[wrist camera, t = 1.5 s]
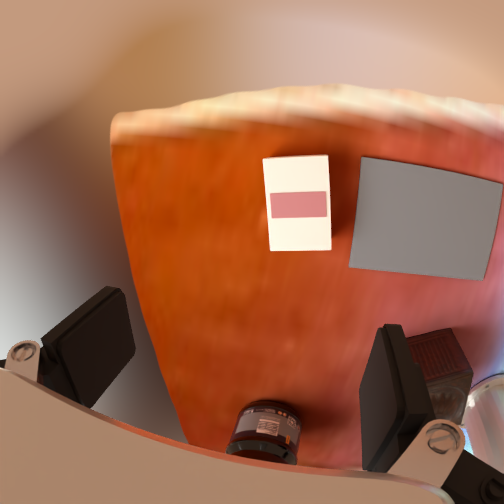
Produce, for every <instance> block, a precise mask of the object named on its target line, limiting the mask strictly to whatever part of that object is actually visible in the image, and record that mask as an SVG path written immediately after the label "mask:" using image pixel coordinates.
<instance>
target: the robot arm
mask: <svg viewBox="0 0 504 504" xmlns="http://www.w3.org/2000/svg"><path fill="white" fill-rule="evenodd" d="M41 341H42V343H43V347H42V348H40V346H39V344H38V343H37V342H35V341H31V340H30V341H28V340H27V341H22V342H19V343H17V344H15V345H14V346H13V347H12V348H11V349H10V350H9V352H8V355H7V359H4V360H0V504H504V374H503V375H496V376H492V377H490V378H488V379H486V380H484V381H482V382H480V383H479V384H477V385H476V386H474V387H473V388H472V389H471V390H470V392H469V396H468V400H467V404H466V408H465V412H464V415H463V419H462V423H461V425H456V424H455V423H453V422H451V421H448V420H443V419H438V420H436V416H435V413H434V409H433V405H432V402H431V398H430V395H429V392H428V388H427V385H426V382H425V379H424V376H423V372H422V369H421V367H420V365H419V364H418V363H414V362H413V358H412V355H411V352H410V349H409V346H408V343H407V340H406V337H405V335H404V332H403V329H402V326H401V325H398V324H384V326H383V328H378V330H377V333H376V336H375V340H374V343H373V347H372V350H371V353H370V357H369V360H368V363H367V366H366V369H365V372H364V375H363V378H362V381H361V384H360V389H359V398H360V413H361V434H362V468H363V470H367V471H354V470H341V469H326V468H314V467H305V466H296V465H289V464H281V463H274V462H267V461H261V460H255V459H250V458H244V457H239V456H234V455H229V454H225V453H220V452H216V451H212V450H208V449H204V448H200V447H196V446H193V445H189V444H185V443H181V442H178V441H175V440H171V439H168V438H165V437H162V436H159V435H156V434H153V433H150V432H147V431H144V430H142V429H139V428H136V427H133V426H131V425H128V424H125V423H123V422H120V421H118V420H115V419H113V418H110V417H108V416H105V415H103V414H101V413H98V412H96V411H94V410H92V409H90V408H91V407H93V405H94V404H95V403H96V401H97V400H98V399H99V398H100V396H101V395H102V394H103V393H104V391H105V390H106V389H107V388H108V386H109V385H110V384H111V383H112V382H113V380H114V379H115V378H116V377H117V375H118V374H119V373H120V372H121V370H122V369H123V368H124V367H125V366H126V364H127V363H128V362H129V361H130V359H131V358H132V357H133V356H134V354H135V349H136V348H135V343H134V339H133V334H132V329H131V324H130V319H129V314H128V309H127V304H126V298H125V295H124V293H122V291H121V289H119V288H116V287H110V286H106V287H104V288H103V289H102V290H100V291H99V292H98V293H96V294H95V295H94V296H93V297H91V298H90V299H89V300H88V301H86V302H85V303H84V304H82V305H81V306H80V307H79V308H77V309H76V310H75V311H74V312H72V313H71V314H70V315H69V316H67V317H66V318H65V319H64V320H62V321H61V322H60V323H59V324H58V325H56V326H55V327H54V328H53V329H51V330H50V331H49V332H48V333H47V334H45V335H44V336H43V337H42V338H41ZM460 428H466V430H467V433H468V437H469V440H470V443H471V447H472V450H473V454H474V455H472V454H471V453H469V452H467V451H466V450H464V446H465V436H464V433H463V431H462V430H461V429H460Z"/></svg>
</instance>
